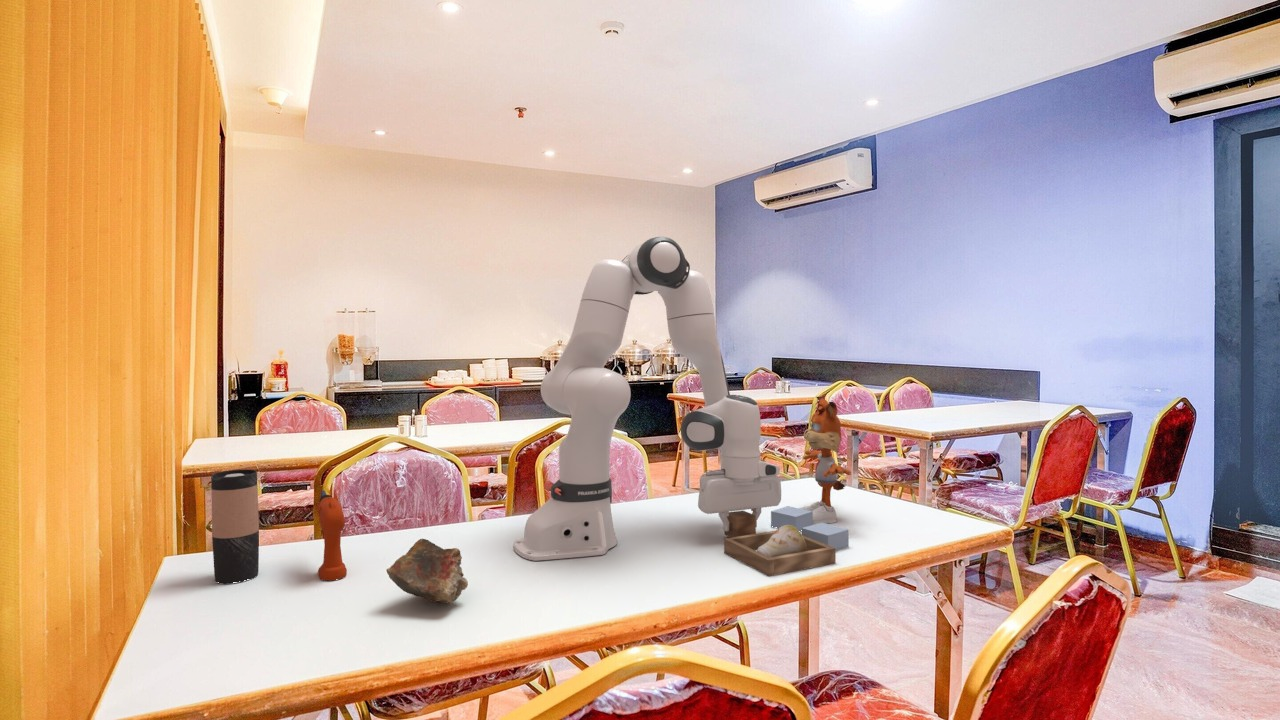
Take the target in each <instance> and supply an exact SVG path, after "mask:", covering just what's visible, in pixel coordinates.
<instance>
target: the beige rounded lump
mask: <svg viewBox="0 0 1280 720" xmlns="http://www.w3.org/2000/svg"><path fill="white" fill-rule="evenodd" d="M774 531H775V532H774V534H773V535H772V536H771V538H770V539H769V540H768V542H767V543H765V544H764V545H762V546H760V547H759V548H758V549H757V550H756V551H757V552H759V553H761V554H763V555H765V556H768V557H770V558H771V557H777V556H782V555H788V554H793V553H799V552H805V551H807V546H806V542H805V540H804V538H803V536H802V532H801V531H800V532H799V531H798V529H796V528H795V527H794V526H792V525H784V526H782V527H780V528H776V530H774Z"/></svg>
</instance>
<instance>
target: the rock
mask: <svg viewBox="0 0 1280 720" xmlns="http://www.w3.org/2000/svg"><path fill="white" fill-rule="evenodd" d="M462 558H463V556H462V555H461V551H460V549H459V548H457V547H453V548H442V547H440V546H438V545H436V543H433V542H432V541H430V540H428V539H426V538H420V539H418V540H417V541H415V543H414V544H413V545H412V546H411V547H410V548H409V550H408V551H407V552H406V553H405V554H404V555H401V556H400V557H399V558H397V559H396V560H395V561H394V562H393V564H392V565H391V566H390V567H388V568H386V573H387V575H388V577H389V579H390V580H391V581H392V582H393V583H394V584H395V585H396V586H397V587H398V588H399V589H401V590H402V591H403V592H404V593H407V594H409V595H412V596H415V597H419V598H422V599H425V600H430V602H433V603H437V602H439V603H447V604H452V603H454V602H455V601H456V600H457V599H458V598H459V597H460V596H461V594H462V592H463V591H465V590H466V589H467V588H468V585H469V581H468V580H467V579H468V578H465V577H464V576H465V575H464V572H463V569H462V567H461V564H462Z"/></svg>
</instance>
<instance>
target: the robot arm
mask: <svg viewBox="0 0 1280 720" xmlns="http://www.w3.org/2000/svg"><path fill="white" fill-rule="evenodd" d="M690 266H691V264H690V263H689V261H688V260H687V258H686V257H685V254H684V252H683V249H682V247H681V246H680V245H679V244H678V243H677V242H676V240H674V239H672V238H670V237H667V236H655V237H651V238H649V239H647V240H645V241H644V242H643V243H642V244H639V245H637V246H636V247H635V248H634V249H632V250H631V251H630V252H629V253H628V254H627V255H626V256H625V257H624V258H623V259H622V260H618V259H614V258H605V259H602V260H599V261H598V262H596V263H595V264H594V266H593V267H592V270H591V271H590V273H589V276H588V278H587V281H586V283H585V286H584V288H583V292H582V294H581V299H580V303H579V307H578V311H577V313H576V317H575V322H574V325H573V329H572V332H571V335H570V337H569V339H568V342H567V343H566V346H565V347H564V349H563V351H562V353H561V355H560V357H559V359H558V361H557V362H556V363H555V365H554V367H553V368H551V370H550V371H548V372H547V373H546V374H545V375H544V377H543V378H542V381H541V385H540V395H541V399H542V400H543V402H544V403H545V404H546V405H547V406H548V407H549V408H550V409H552V410H554V411H556V412H558V413H560V414H564V415H568V416H570V415H571V419H570V423H569V428H568V431H567V434H566V435H565V437H564V438H563V439H562V440H561V441H560V443H559V448H558V458H559V459H558V461H559V462H558V465H559V466H558V470H559V471H558V475H559V476H558V478H559V479H558V480H557V481H555V482H552V481H550V480H547V481H545V482H544V483H543V489H544V490H546V491H548V492H550V498H549V499H548V500H547V501H546V502H545V503H543V504H542V505H541V506H540V507H539V508H537V509H536V510H535V511H534V512H533V513H532V514H530V515H529V516H528V518H527V520H526V523H525V527H524V533H523V537H519V538H517V539H515V540H514V542H513V550H514V551H515V552H516V554H518V555H519V556H520V557H522V558H524V559H526V560H530V561H534V562H535V561H549V560H559V559H560V560H561V559H572V558H583V557H594V556H602V555H605V554H606V553H607V552H608V550H609V549H612V548H613V547H615V546H616V545H618V539H617V536H616V531H615V528H614V522H613V516H612V515H613V514H612V508H611V507H612V505H611V504H612V500H613V498H612V497H613V484H612V478H611V477H610V472H611V471H610V465H611V464H610V459H611V458H610V457H611V456H610V455H611V452H610V451H611V442H612V437H613V433H614V430H615V427H616V424H617V421H618V419H619V418H620V416H621V415H622V414H624V412H626V410H627V408H628V406H629V404H630V401H631V396H632V395H631V394H632V393H631V386H630V384H629V382H628V380H627V378H626V377H625V376H623V375H622V374H620V373H619V372H616V371H615V370H611V369H609V368H606V367H605V366H606V363H607V362H608V360H610V358H611V357H612V356H613V355H614V354H615V353H616V352H617V351H618V350H619V349H620V347H621V345H622V342H623V338H624V333H625V329H626V325H627V321H628V317H629V313H630V308H631V307H630V306H631V302H632V300H633V297H634V296H635V295H638V296H640V295H649V294H651V293H653V292H657V294H658V295H659V296H660V297H661V298H662V300H663V302H664V306H665V311H666V312H665V313H666V320H667V321H666V322H667V330H668V335H669V338H670V341H671V344H672V347H673V348H674V350H676V352H678V354H680V355H681V356H682V357H685V358H686V359H687V360H689V361H690V362H691V363H692V365H693V366H694V367H695V368H696V370H697V372H698V375H699V380H700V383H701V388H702V395H703V398H704V407H701V408H697V409H695V410H692V411H690V412H687V414H686V415H685V416H684V417H683V418H682V420H681V423H680V435H681V438H682V441H683V443H685V445H686V446H687V447H689V448H690V449H691V450H693V451H699V452H704V451H710V450H714V449H716V450H719V451H720V469H715V470H714V469H713V470H706V471H705V473H704V472H703V473H702V475H701V476H700V477H699V493H698V500H697V501H698V503H697V507H698V509H699V510H700V511H701V512H702V513H705V514H707V515H712V514H718V517H719V519H720V521H721V522H722V529H723V531H724V532H725V531H732V530H733V528H732V527H733V523H731V522H729V521H728V519H727V517H726V516H729V512H735V511H746V510H750V511H751V512H752V513H751V514H753V515H756V528H757V527H758V519H759V518H760V515H761V514H762V508H769V507H770V508H771V507H778V506H779V505H780V503H781V501H782V483H781V479H780V477H779V476H778V475H779V474H780V472H781V471H780V469H781V468H780V466H779V465H776V464H773V463H771V462H767V461H766V460H763V459H761V456H762V455H761V450H760V441H761V435H762V433H761V431H762V429H761V423H762V422H761V413H760V408H759V404H758V403H757V401H756V400H755V399H752V398H751V397H749V396H745V395H739V394H731V392H730V388H729V384H728V379H727V374H726V370H725V369H726V368H725V363H724V359H723V356H722V352H721V348H720V343H719V339H718V331H717V325H716V319H715V311H714V310H715V308H714V305H713V299H712V296H711V293H710V289H709V286H708V283H707V282H708V281H707V280H706V279H707V278H705V276H704V275H703V274H702V273H701V272H700V271H696V270H692V269H691V268H690Z"/></svg>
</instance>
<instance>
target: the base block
mask: <svg viewBox="0 0 1280 720" xmlns="http://www.w3.org/2000/svg"><path fill="white" fill-rule="evenodd" d="M849 530H850V529H849V528H845V527H840V526H836V525H834V524H831V523H818V524H813V525H811V526H807V527H804V528H802V531H801V534H802V535H804V536H806V537H809V538H811V539H814V540H816V541H819V542H821V543H824V544H826V545H829V546H831V547H834V548H836V552H837V551H839V550H843V549H846V548H849V542H850V541H849V539H850V538H849V536H850V531H849Z"/></svg>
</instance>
